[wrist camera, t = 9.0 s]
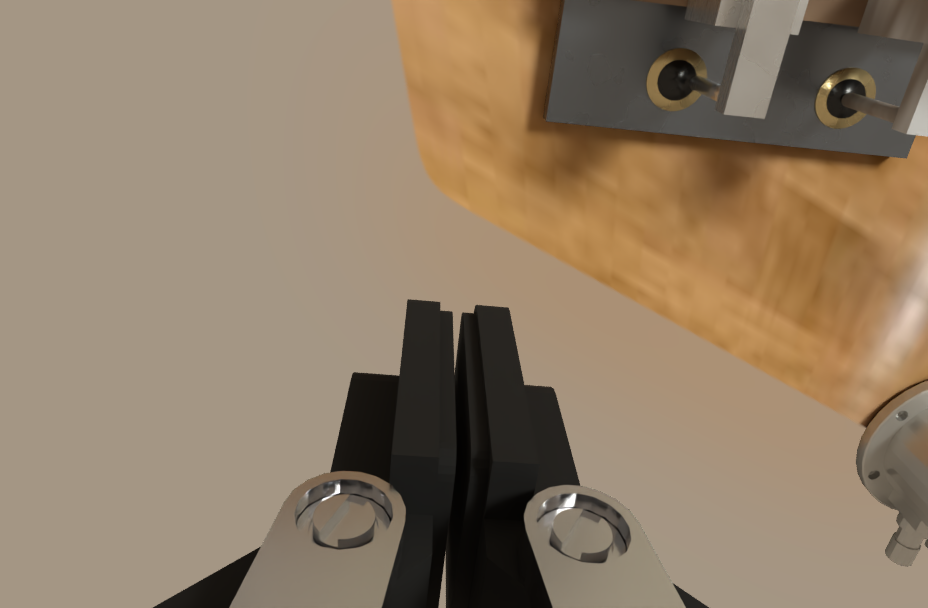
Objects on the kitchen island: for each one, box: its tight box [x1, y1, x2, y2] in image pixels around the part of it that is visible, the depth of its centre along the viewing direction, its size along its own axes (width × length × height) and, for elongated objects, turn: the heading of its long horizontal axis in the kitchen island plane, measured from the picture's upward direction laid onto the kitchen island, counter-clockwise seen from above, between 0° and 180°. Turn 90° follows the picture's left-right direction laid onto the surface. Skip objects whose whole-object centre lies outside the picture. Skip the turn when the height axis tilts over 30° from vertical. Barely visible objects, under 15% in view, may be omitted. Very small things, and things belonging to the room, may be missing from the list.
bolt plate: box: [543, 0, 924, 158], centre depth 38 cm, size 10×22×1 cm, turn 84°
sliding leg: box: [684, 0, 809, 119], centre depth 33 cm, size 7×4×7 cm, turn 174°
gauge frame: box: [634, 0, 928, 136], centre depth 34 cm, size 7×21×8 cm, turn 84°
